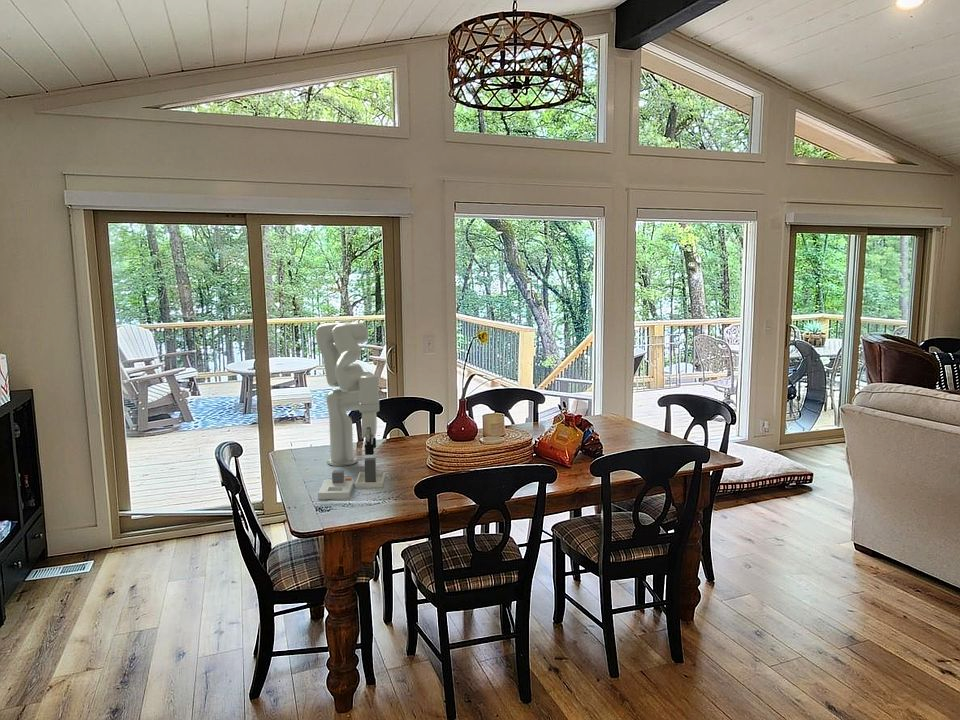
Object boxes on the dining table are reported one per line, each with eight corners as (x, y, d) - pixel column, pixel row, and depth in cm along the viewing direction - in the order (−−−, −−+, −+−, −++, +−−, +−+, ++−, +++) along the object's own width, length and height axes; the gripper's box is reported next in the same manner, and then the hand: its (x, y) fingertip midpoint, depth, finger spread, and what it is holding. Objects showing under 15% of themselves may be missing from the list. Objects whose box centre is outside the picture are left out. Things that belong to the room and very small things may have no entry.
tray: (359, 478, 264) (359, 472, 263) (385, 477, 264) (385, 471, 264) (355, 489, 251) (355, 483, 250) (382, 489, 251) (382, 482, 251)
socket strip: (325, 486, 253) (324, 469, 252) (354, 486, 254) (353, 468, 253) (318, 501, 238) (317, 482, 237) (349, 500, 239) (348, 481, 238)
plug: (365, 480, 259) (365, 458, 257) (376, 480, 259) (375, 457, 258) (365, 482, 256) (364, 460, 254) (375, 482, 256) (375, 460, 255)
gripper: (361, 403, 261) (363, 445, 263) (356, 412, 244) (358, 457, 246) (381, 402, 261) (382, 445, 264) (377, 411, 244) (378, 457, 247)
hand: (370, 451), depth 255 cm, fingers open, 9 cm apart
